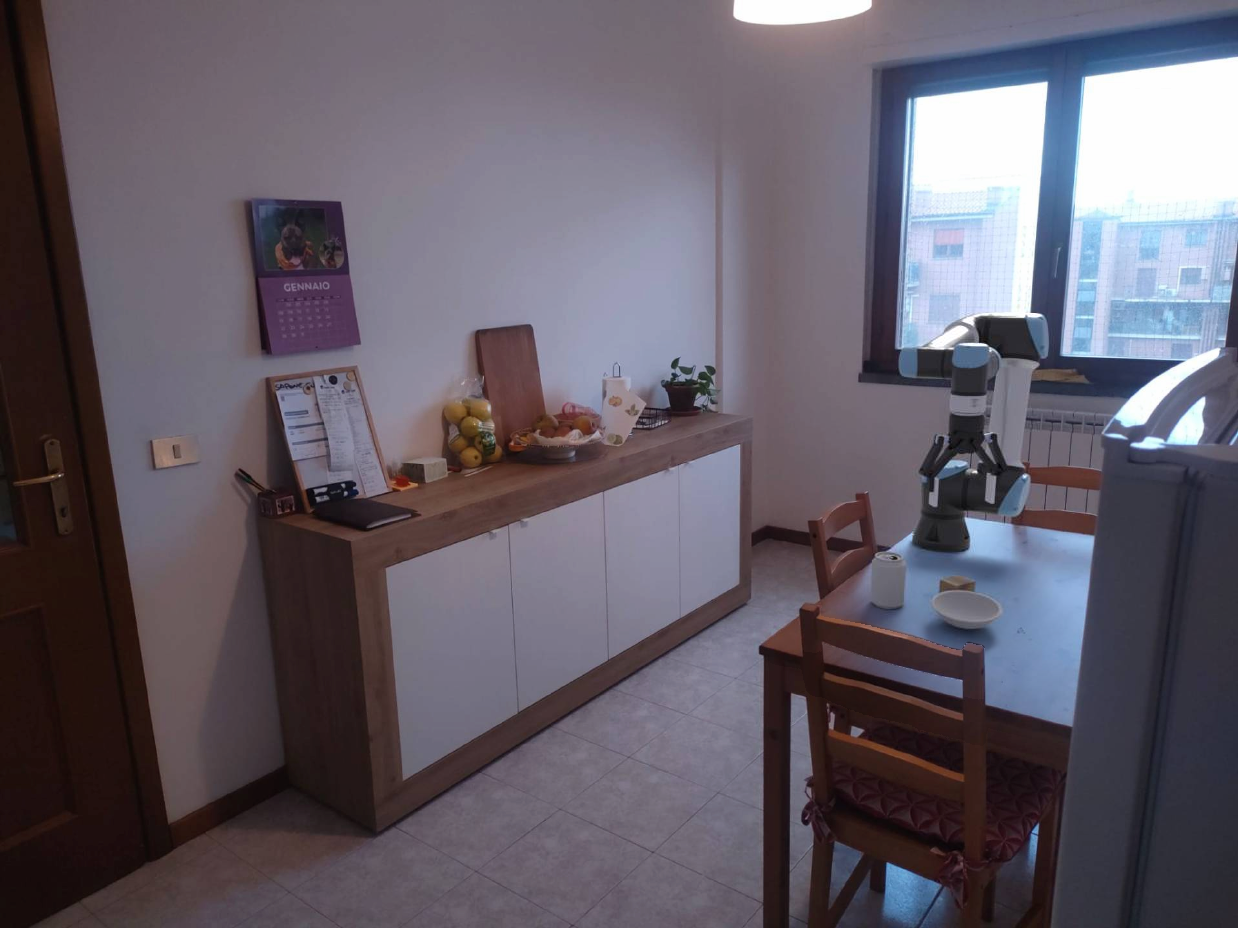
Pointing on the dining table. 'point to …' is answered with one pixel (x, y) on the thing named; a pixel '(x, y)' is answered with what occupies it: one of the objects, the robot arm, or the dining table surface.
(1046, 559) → the dining table surface
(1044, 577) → the dining table surface
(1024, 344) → the robot arm
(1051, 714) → the dining table surface
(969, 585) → the walnut block
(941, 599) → the dish
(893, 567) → the can
